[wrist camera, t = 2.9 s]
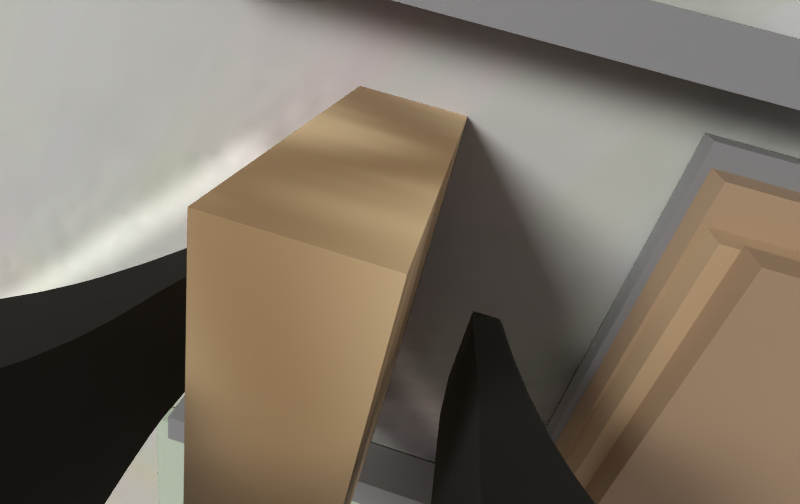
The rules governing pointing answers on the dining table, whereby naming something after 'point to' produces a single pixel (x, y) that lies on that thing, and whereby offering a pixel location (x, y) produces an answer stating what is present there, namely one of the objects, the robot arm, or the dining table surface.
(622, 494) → the offcut rack
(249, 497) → the oak block
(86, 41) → the dining table surface
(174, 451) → the sage mat
